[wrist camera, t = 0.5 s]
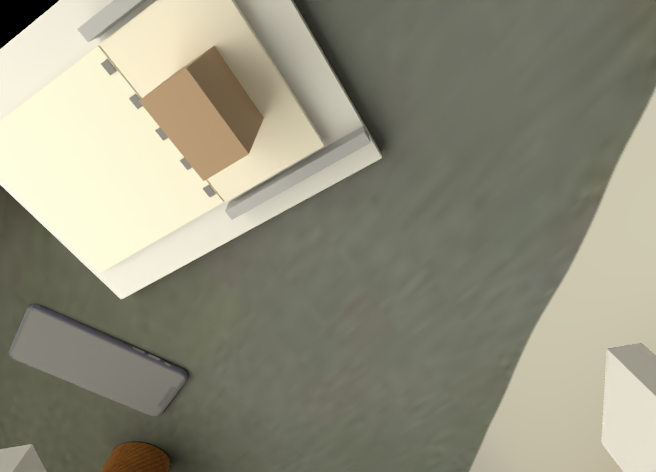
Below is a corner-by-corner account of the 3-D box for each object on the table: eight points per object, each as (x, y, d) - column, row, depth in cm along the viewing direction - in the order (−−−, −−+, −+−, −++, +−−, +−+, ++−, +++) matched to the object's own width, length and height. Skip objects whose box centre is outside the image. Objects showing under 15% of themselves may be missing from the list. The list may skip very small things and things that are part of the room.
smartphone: (27, 304, 40) (189, 377, 44) (34, 297, 41) (192, 369, 45) (5, 357, 43) (157, 420, 47) (11, 349, 44) (160, 412, 48)
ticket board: (220, -127, 25) (210, -133, 23) (380, 152, 33) (383, 165, 31) (-65, 107, 31) (-92, 118, 30) (125, 291, 39) (114, 309, 37)
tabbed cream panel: (209, -39, 26) (174, -35, 20) (324, 142, 31) (322, 186, 25) (103, 42, 28) (44, 66, 22) (227, 198, 33) (205, 249, 28)
